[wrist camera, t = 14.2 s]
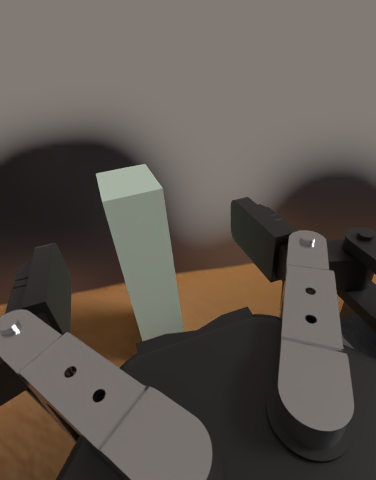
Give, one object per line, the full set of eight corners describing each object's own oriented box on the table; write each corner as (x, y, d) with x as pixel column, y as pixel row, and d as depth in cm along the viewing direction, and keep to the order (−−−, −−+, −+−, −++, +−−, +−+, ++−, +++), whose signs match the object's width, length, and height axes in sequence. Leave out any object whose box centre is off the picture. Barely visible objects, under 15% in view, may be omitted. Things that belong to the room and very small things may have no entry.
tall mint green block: (170, 309, 30) (144, 163, 21) (186, 348, 26) (162, 188, 17) (137, 320, 29) (95, 173, 20) (148, 362, 25) (102, 201, 16)
